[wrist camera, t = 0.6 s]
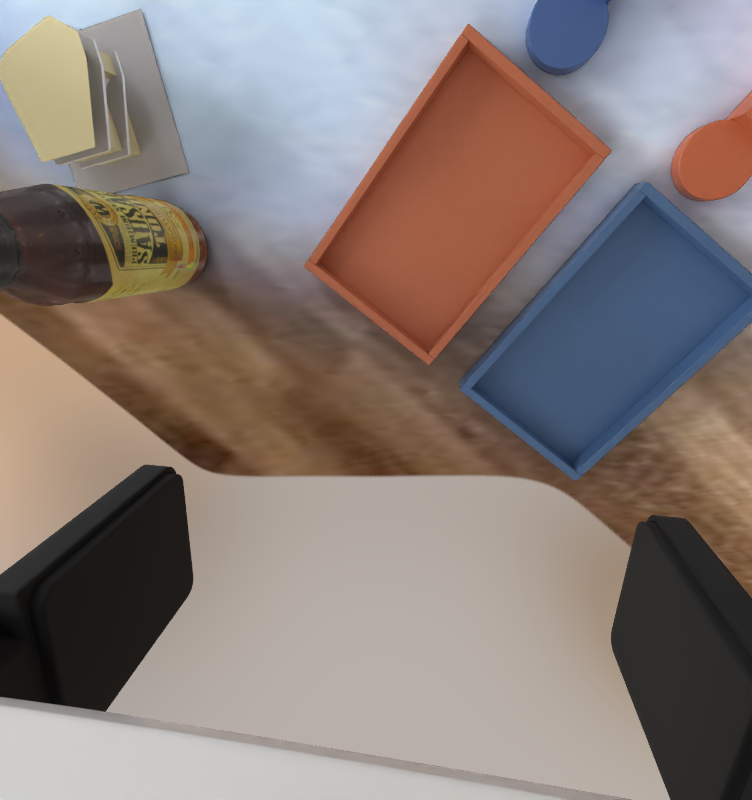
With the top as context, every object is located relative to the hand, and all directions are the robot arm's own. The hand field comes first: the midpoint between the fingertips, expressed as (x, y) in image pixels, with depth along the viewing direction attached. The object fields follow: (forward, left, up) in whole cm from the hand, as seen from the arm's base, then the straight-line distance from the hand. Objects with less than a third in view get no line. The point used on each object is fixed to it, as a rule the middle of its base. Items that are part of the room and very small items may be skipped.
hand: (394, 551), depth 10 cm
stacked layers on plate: (+3, -27, -28) cm, 39 cm away
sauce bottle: (+8, -19, -28) cm, 35 cm away
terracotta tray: (-6, -4, -28) cm, 29 cm away
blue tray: (-6, +10, -28) cm, 30 cm away
